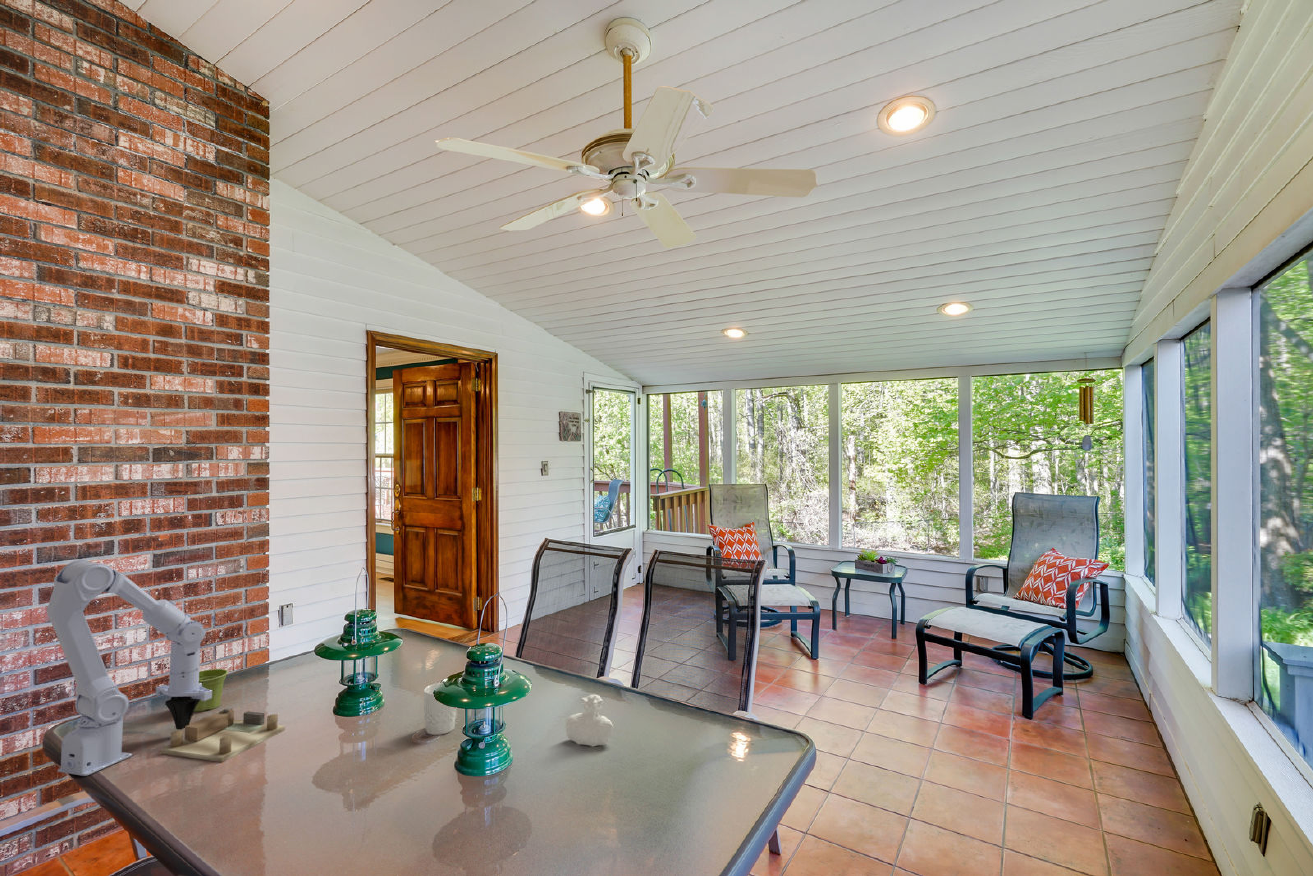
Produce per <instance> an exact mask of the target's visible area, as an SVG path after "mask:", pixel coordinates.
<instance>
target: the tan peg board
mask: <svg viewBox="0 0 1313 876" xmlns="http://www.w3.org/2000/svg"><path fill="white" fill-rule="evenodd" d="M242 717H243V719H242V720H240V719H234V723H233V724H232V725H230V726H228V727H227V728H224V729H222V730H220V731H218V732H216V733H214V734H211V735H209V736H207V737H205V738H203V739H200V740H198V741H192V740H185V737H183V736H184V731H183V729H181V730H179V729H175V730H174V731H171V732H170V740H169V741H170V744H169V745H167V746H164V747H162V748H160V754H161V755H170V756H176V757H177V756H178V757H184V758H190V759H196V760H197V759H198V760H204V761H205V760H206V761H212V762H219V763H223V762H225V761H227V760H229V759H231V758H234V757H236V756H237V755H239V754H241V753H243V752H245V751H247V750H249V749H251V748H253V747H255V746H257V745H259V744H260V743H263V742H264V741H266V740H268V739H270V738H272V737H274V736H276V735H278V734H279V733H281V732H284V731H285V730H286V725H283V724H278V717H279V715H278V714H277V713H274V714H270V715H267V716H266V723H265V713H264V712H257V711H256V712H255V711H245V712H243V715H242Z"/></svg>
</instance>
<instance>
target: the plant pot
mask: <svg viewBox="0 0 1313 876" xmlns="http://www.w3.org/2000/svg"><path fill="white" fill-rule="evenodd" d="M228 674H229V671H228V670H227V669H225V668H213V669H212V668H210V669H205V670H199V683H202V687H204V688H206V689H208V690H212V698H211V699H208V700H206V701H201V699H200V701H199V702H198V704H197V706H196V707H195V709H194V712H204V711H206V710H213V709H216V708H217V707H219V706H220V705H221V698H222V693H223V688H224V683H225V680H226V677H227V675H228Z"/></svg>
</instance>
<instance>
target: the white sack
mask: <svg viewBox="0 0 1313 876" xmlns="http://www.w3.org/2000/svg"><path fill="white" fill-rule="evenodd" d="M580 701H581V704H582V708H583V709H584V713H582V712H578V713H575V714H571V715H570V716H569V717H567V719H566V722H565V733H566V737H567V739H568V740H570V741H572V742H575V743H576V744H577V745H582V746H583V745H585V746H590V747H593V748H594V747H596V746H597V747H598V746H604V745H607V744H608V742H609V740H610V738H611V735H612V733H613V730H614V725H613V723H612V721H611V720H610V719H608V717H606V716H604V715H600V712H599V709H600V710H601V709H602V705H603V704H604V702H605V701H604V700H603V699H602V698H601V696H600V695H598V694H596V693H594V694H589V695H587V696H585V697H580Z"/></svg>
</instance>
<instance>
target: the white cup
mask: <svg viewBox="0 0 1313 876" xmlns="http://www.w3.org/2000/svg"><path fill="white" fill-rule="evenodd" d="M441 683H442V682H438V683H433V684H430V685H427V686H426V687H425V688H424V689H423V696H424V697H423V699H424V700H423V701H424V702H423V705H424V720H425V725H424V726H425V728H424V729H425V732H426V733H427V734H428V735H431V736H432V735H435V736H436V735H437V736H439V735H444V734H445V735H446V734H447V733H448V734H449V733H451V731H453V730H454V729H455V724H456V715H457V708H456V709H454V708H451V707H448V706H446V705H441V704H440V703H439V702H437V701H436V700H435V697H434V694H433V691H434V689H435V687H438V686H439V685H440V684H441Z"/></svg>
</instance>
